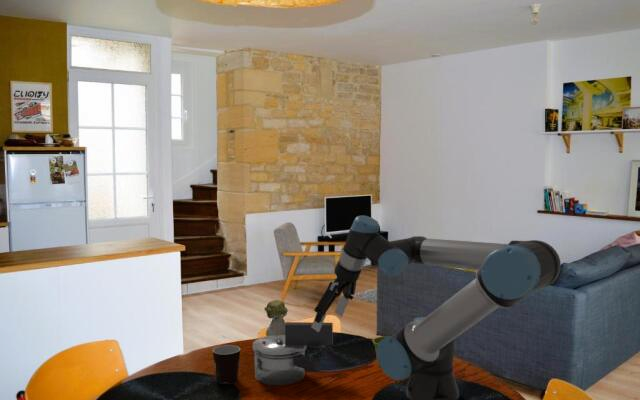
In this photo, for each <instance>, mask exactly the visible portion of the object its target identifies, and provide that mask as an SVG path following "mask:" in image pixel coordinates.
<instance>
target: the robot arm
mask: <svg viewBox="0 0 640 400" xmlns="http://www.w3.org/2000/svg"><path fill="white" fill-rule="evenodd" d="M379 229H380V224H379V222H378V221H377V220H376V219H375V218H373V217H370V216H368V215H358V216H356V217H355V218H354V220H353V222H352V224H351V227H350V228H349V231H348V234H347V237H346V241H345V243H344V245H343V247H342V248H341V249H340V251H341V253H340V256H339V257H338V258H339V259H337V260H338V261H337V262H336V265H335V268H334V274H335V276H336V278H335V279H334V281H333V282H332V281H330V282H329V284H328V286H327V287H326V290H325V291H324V292H323V295H322V296H321V298H320V300H319V302H318V303H317V305H316V306H315V307H314V310H313V311H314V312H315V317H314V319H313V324H312V326H311V327H312V328H313V329H314V330H316V331H317V332H319V331H320V329H321V327H322V324H323V323H325V322H324V321H325V319H326V316H327V312H328V310H330V307H332V305H333V303H334V302H335V300H336V299H337V298H339V300H338V302H337V304H336V308H335V310H334V314H337V315H338V316H339V317H341V318H342V317H343V316H344V313H345V311H346V308H347V306H348V303H349V301H350V300H351V301H352V300H353V299H354V295H355V294H356V287H357V281H358V280H359V277H360V275H361V273H362V270H363V269H364V266H365V264H366V260H367V259H368V260H370V262H372V264H374V265H375V266H376V267H377V268H379V269H380V271H382V272H384V273H386V274H387V275H388V276H389V277H397V276H399V275H400V274H402V273H403V272H404V271H405V270H406V268H407V266H408V265H412V264H415V265H416V264H418V265H426V266H427V265H429V266H436V267H437V266H439V267H447V268H456V269H465V270H473V271H476V272H475V276H476V277H475V278H474V279H473V280H471V281H470V282H469V283H468V284H466V285H465V286H463V287H462V289H460V290H459V291H457V292H456V293H455V294H453V296H451V297H450V298H448V299H446V301H444V302H443V303H442V304H441V305H440V306H437V308H435V310H433V311H432V312H431V313H429V314H428V315H427V316H425V317H421V316H419V317H415V318H413V321H409V322H408V323H407V324H405V325H404V326H403V327H401V328H400V329H399V330H398V331H397V332H395V333H393V334H392V335H387V337H385V338H384V339H382V340H381V341H380V342H379V344H378V347H377V357H376V359H377V358H378V362H379V365H380V367H379V368H380V369H381V370H382V371H383V373H384V374H385V375H386V376H388V377H389V378H391V379H393V380H395V381H402V380H406V379H408V378H409V379H408V383H407V385H406V393H405V394H406V395H407V396H406V395H405V396H406V398H407V397H408V398H409V399H410V400H458V398H459V399H460V391H459V387H458V384H457V381H456V378H455V373H454V351H455V349H454V347H455V342H454V341H455V340H456V338H459V336H461V335H462V334H464V332H467V331H468V329H470V328H472V327H473V326H475V325H476V324H478V322H480V321H482V320H483V319H484V318H486V317H487V316H489V315H490V314H492V313H493V312H494V311H496V310H497V309H498V308H501V309H502V308H503V309H509V308H511V307H513V306H514V305H516V304H517V303H519V302H520V301H522V299H524V298H526V297H527V296H529V295H530V294H532V293H533V292H534V293H535V291H539V290H541V289H543V288H546V287H548V286H549V285H551V284H553V283H554V282H555V281H556V279H557V278H559V277H558V276H559V274H560V272H561V267H562V266H561V264H562V263H561V259H560V255H559V254H558V252H557V251H556V249H555V248H554V247H553V246H552V245H550V244H549V243H547V242H545V241H542V240H536V239H535V240H510V241H509V242H508V243H498V242H497V243H495V242H483V241H481V242H480V241H470V240H469V241H467V240H457V239H456V240H454V239H442V238H441V239H440V238H439V239H438V238H427V237H425V236H423V235H422V236H420V235H417V236H416V235H414V236H412V237H411V236H410V237H407V238H403V239H396V240H390V241H389V240H388V239H386V238H385V237H384V236H383V235H381V234H380V233H379V231H380V230H379ZM408 398H407V399H408ZM409 399H408V400H409Z"/></svg>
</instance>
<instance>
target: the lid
mask: <svg viewBox="0 0 640 400" xmlns="http://www.w3.org/2000/svg"><path fill="white" fill-rule="evenodd" d="M285 323H286V324H285V335H274V336H267V335H266V336H263V337H259V338H258V339H256V340H254V341H253V343H252V351H253V352H254V351H255V352H256V353H258V354H262V355H266V356H289V355H294V354H298V353H300V352H302V351H304V350H305V351H306V349H307V346H333V345H334V340H333V338H334V335H333V334H334V333H333V331H334V330H333V325H334V324H333V323H334V322H323V324H322V327H321V329H320V331H319V332H317V331H316V330H314V329H313V328H312V327H311V326H312V324H313V322H307V321H306V322H304V321H303V322H301V321H300V322H299V321H298V322H296V321H295V322H293V321H290V322H289V321H287V322H286V321H285Z"/></svg>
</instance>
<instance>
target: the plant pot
mask: <svg viewBox="0 0 640 400" xmlns="http://www.w3.org/2000/svg"><path fill="white" fill-rule="evenodd" d="M387 336H388V335H387ZM387 336H378V337H374V338H373V339H372V343H373V346H374V347H375V355H376V364H377V366H378V367H379V368H381V367H380V365H379V362H378V358H377V347H378V344H379V342H380V341H381V340H382V339H384V338H385V337H387Z"/></svg>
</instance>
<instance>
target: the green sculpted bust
mask: <svg viewBox="0 0 640 400" xmlns="http://www.w3.org/2000/svg"><path fill="white" fill-rule="evenodd" d="M264 311H265V312H266V315H267V316H266V317H267V318H268V319H271V321H270V322H269V323H270V324H269V325H268V326H267V329H266V330H265V333H264V334H265V336H266V337H267V336H274V335H285V324H286V321H285V319H284V317H286V316H287V315H288V311H289V309H287V307H286V305H285V303H284V301H283V300H281V299H280V300H279V299H273V300H271V301H269V302H267V304H266V306H265V307H264Z"/></svg>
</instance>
